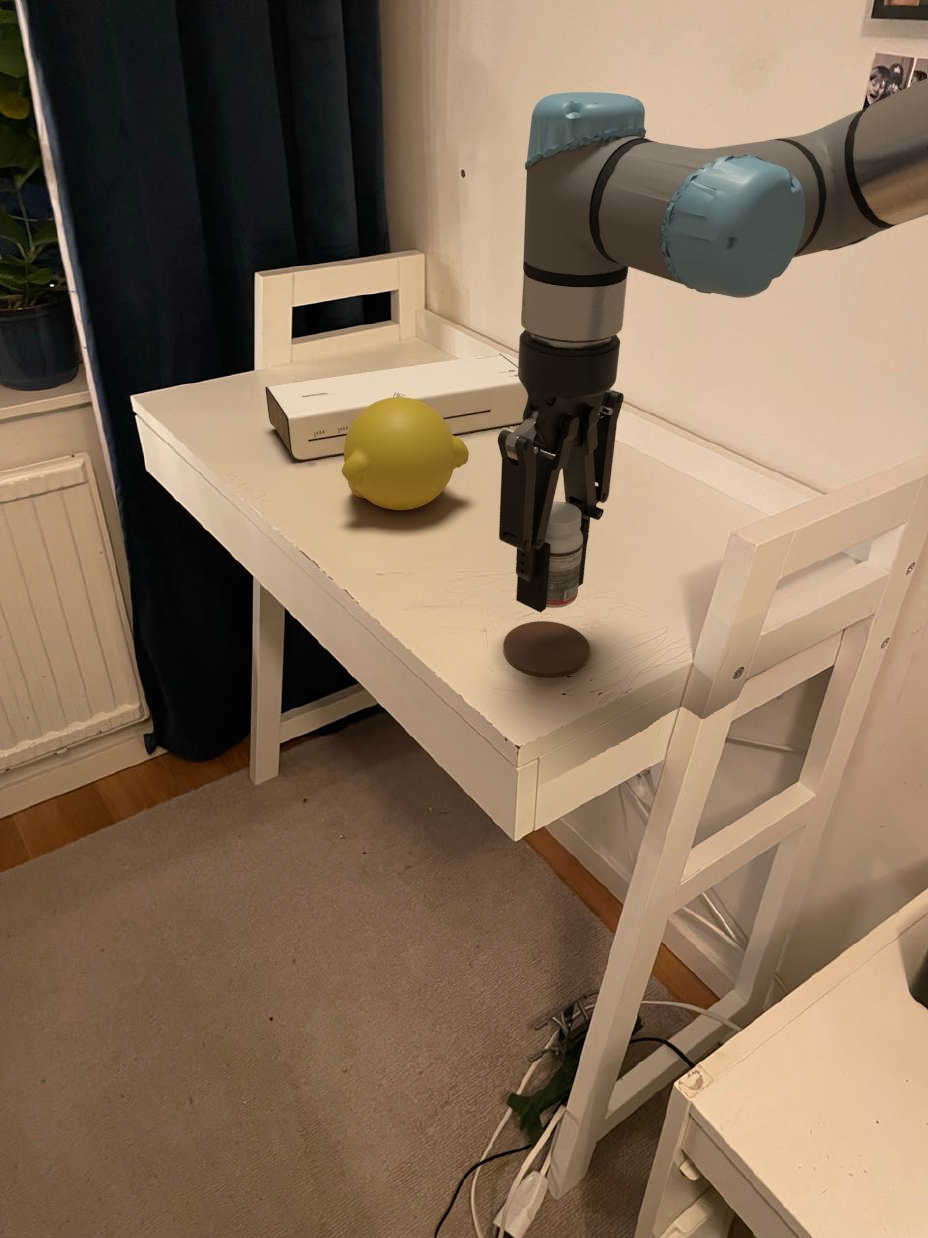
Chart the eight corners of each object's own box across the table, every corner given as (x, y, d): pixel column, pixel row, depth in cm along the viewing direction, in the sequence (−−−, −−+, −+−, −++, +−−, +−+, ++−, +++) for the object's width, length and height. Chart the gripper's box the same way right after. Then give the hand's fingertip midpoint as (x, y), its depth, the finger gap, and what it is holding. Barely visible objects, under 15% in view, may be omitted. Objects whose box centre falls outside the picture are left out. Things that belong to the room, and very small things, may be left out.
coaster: (606, 648, 87) (606, 644, 87) (554, 689, 82) (554, 684, 82) (538, 615, 91) (539, 611, 91) (485, 651, 86) (485, 647, 86)
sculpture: (431, 447, 117) (448, 365, 106) (469, 523, 111) (491, 444, 100) (315, 467, 112) (321, 382, 101) (349, 548, 106) (359, 467, 95)
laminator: (291, 463, 118) (286, 417, 114) (268, 426, 127) (262, 382, 123) (532, 422, 129) (534, 379, 125) (494, 390, 138) (496, 349, 135)
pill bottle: (519, 582, 85) (523, 500, 80) (569, 578, 85) (576, 496, 80) (530, 612, 81) (535, 527, 76) (583, 607, 81) (591, 523, 77)
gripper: (598, 295, 77) (575, 539, 90) (452, 349, 66) (451, 618, 80) (677, 315, 73) (641, 567, 86) (535, 376, 62) (519, 654, 76)
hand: (550, 591), depth 83 cm, fingers closed on pill bottle, 5 cm apart
